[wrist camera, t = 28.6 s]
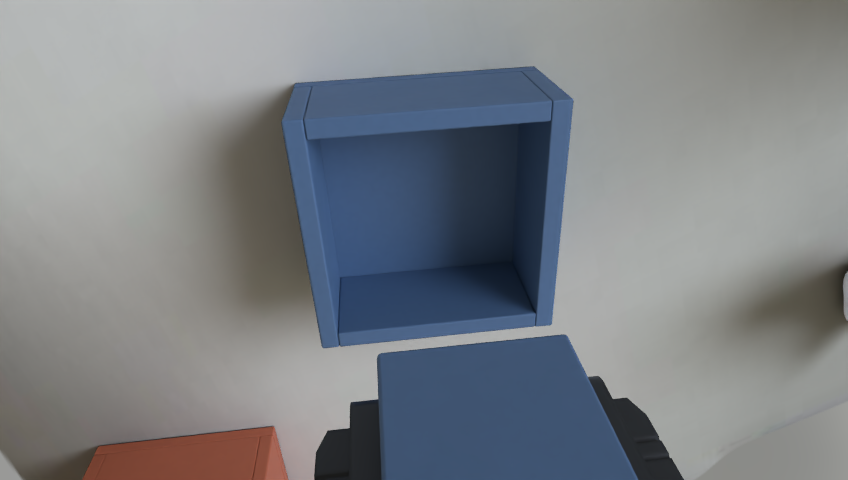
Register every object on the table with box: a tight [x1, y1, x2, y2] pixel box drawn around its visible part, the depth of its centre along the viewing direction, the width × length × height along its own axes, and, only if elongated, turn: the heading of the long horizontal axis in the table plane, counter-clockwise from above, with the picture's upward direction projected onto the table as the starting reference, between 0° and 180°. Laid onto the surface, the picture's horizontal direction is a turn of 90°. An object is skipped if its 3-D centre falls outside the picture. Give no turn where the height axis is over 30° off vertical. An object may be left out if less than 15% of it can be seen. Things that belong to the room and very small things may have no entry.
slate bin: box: [281, 66, 573, 348], centre depth 22 cm, size 9×9×5 cm
